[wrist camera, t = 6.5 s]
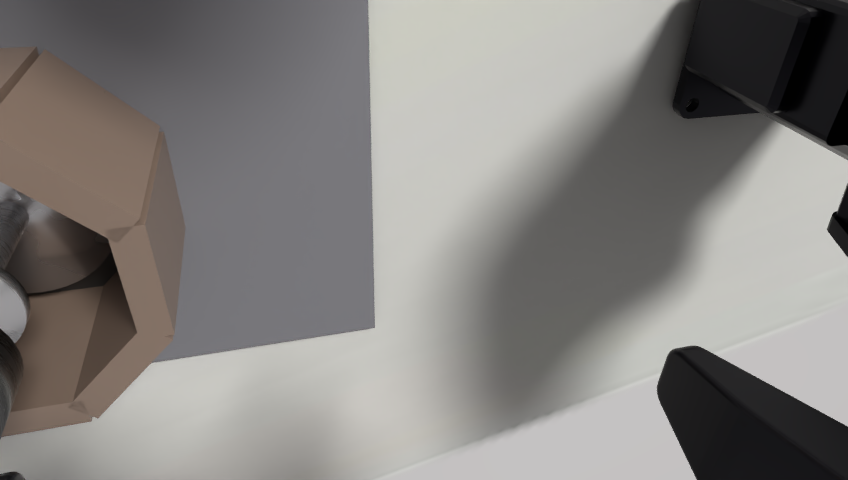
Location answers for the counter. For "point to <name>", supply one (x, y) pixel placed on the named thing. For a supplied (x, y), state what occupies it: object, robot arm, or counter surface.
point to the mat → (242, 150)
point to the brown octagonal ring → (101, 212)
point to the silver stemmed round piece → (35, 272)
